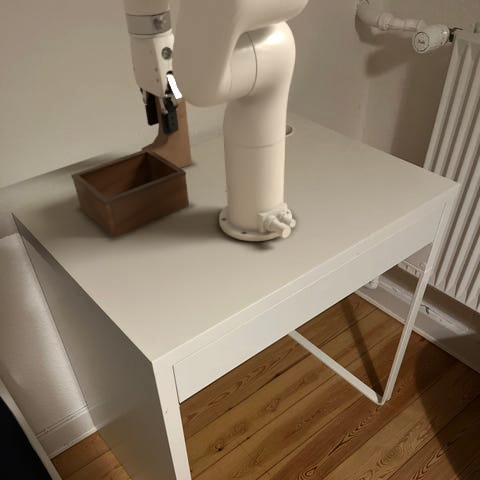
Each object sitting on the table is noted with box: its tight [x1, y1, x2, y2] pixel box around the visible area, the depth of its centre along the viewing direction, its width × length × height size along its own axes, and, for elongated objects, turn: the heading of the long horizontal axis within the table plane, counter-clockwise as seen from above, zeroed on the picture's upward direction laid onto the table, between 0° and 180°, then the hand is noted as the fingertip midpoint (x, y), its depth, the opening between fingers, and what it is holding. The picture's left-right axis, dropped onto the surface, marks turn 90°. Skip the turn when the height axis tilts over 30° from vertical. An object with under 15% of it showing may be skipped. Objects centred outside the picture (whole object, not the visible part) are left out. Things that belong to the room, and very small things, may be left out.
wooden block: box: [141, 90, 193, 169], centre depth 98 cm, size 9×4×18 cm, turn 123°
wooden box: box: [70, 149, 190, 238], centre depth 91 cm, size 13×16×7 cm
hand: (163, 127), depth 99 cm, fingers open, 4 cm apart
